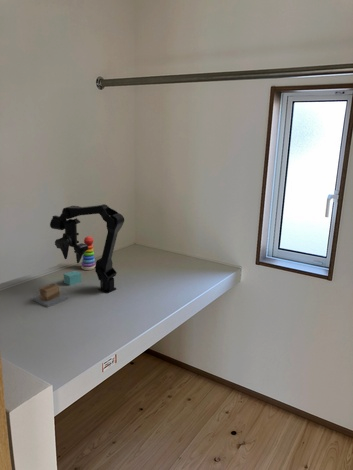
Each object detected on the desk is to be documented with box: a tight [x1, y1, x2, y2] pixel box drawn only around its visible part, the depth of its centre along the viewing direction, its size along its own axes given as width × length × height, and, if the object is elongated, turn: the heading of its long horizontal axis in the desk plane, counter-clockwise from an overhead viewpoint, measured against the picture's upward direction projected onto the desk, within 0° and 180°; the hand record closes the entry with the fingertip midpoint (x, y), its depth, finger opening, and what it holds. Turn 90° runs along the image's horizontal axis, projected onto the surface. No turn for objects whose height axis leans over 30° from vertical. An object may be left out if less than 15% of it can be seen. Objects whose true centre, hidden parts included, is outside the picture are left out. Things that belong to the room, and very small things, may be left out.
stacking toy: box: [80, 235, 96, 271], centre depth 212 cm, size 8×8×19 cm
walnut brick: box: [39, 283, 61, 301], centre depth 173 cm, size 5×7×5 cm
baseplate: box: [31, 293, 68, 308], centre depth 174 cm, size 11×11×1 cm
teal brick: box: [63, 270, 82, 286], centre depth 194 cm, size 5×7×5 cm
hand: (71, 260), depth 191 cm, fingers open, 9 cm apart
